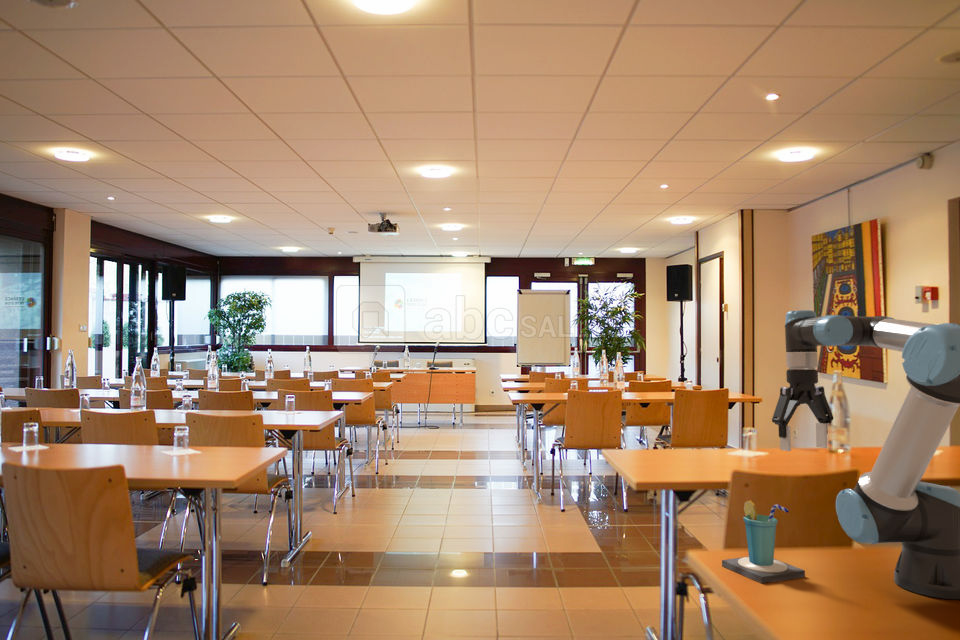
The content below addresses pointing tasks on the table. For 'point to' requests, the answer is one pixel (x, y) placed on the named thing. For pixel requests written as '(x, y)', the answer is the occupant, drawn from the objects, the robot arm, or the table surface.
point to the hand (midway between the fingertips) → (803, 449)
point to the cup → (760, 534)
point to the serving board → (763, 570)
